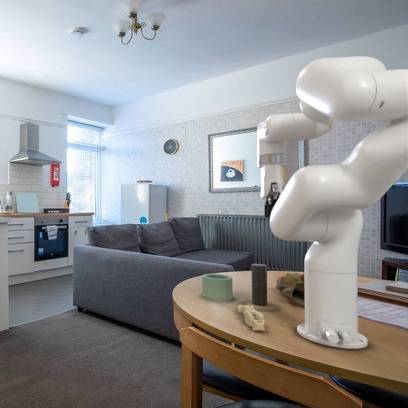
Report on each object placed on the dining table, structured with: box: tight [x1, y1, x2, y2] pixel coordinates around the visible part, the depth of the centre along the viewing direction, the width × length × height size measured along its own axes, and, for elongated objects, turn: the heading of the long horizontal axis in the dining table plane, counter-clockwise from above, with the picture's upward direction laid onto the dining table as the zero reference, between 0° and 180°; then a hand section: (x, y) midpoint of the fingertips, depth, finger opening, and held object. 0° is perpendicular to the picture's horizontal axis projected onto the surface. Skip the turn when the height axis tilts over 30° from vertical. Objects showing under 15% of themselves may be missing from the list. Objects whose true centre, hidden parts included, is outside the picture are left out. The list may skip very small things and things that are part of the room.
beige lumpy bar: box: [237, 304, 266, 332], centre depth 87 cm, size 17×4×3 cm, turn 169°
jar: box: [201, 273, 234, 301], centre depth 108 cm, size 9×9×7 cm
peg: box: [251, 263, 268, 307], centre depth 99 cm, size 4×4×12 cm
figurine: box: [275, 272, 305, 308], centre depth 103 cm, size 15×9×20 cm
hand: (272, 217), depth 100 cm, fingers open, 9 cm apart
